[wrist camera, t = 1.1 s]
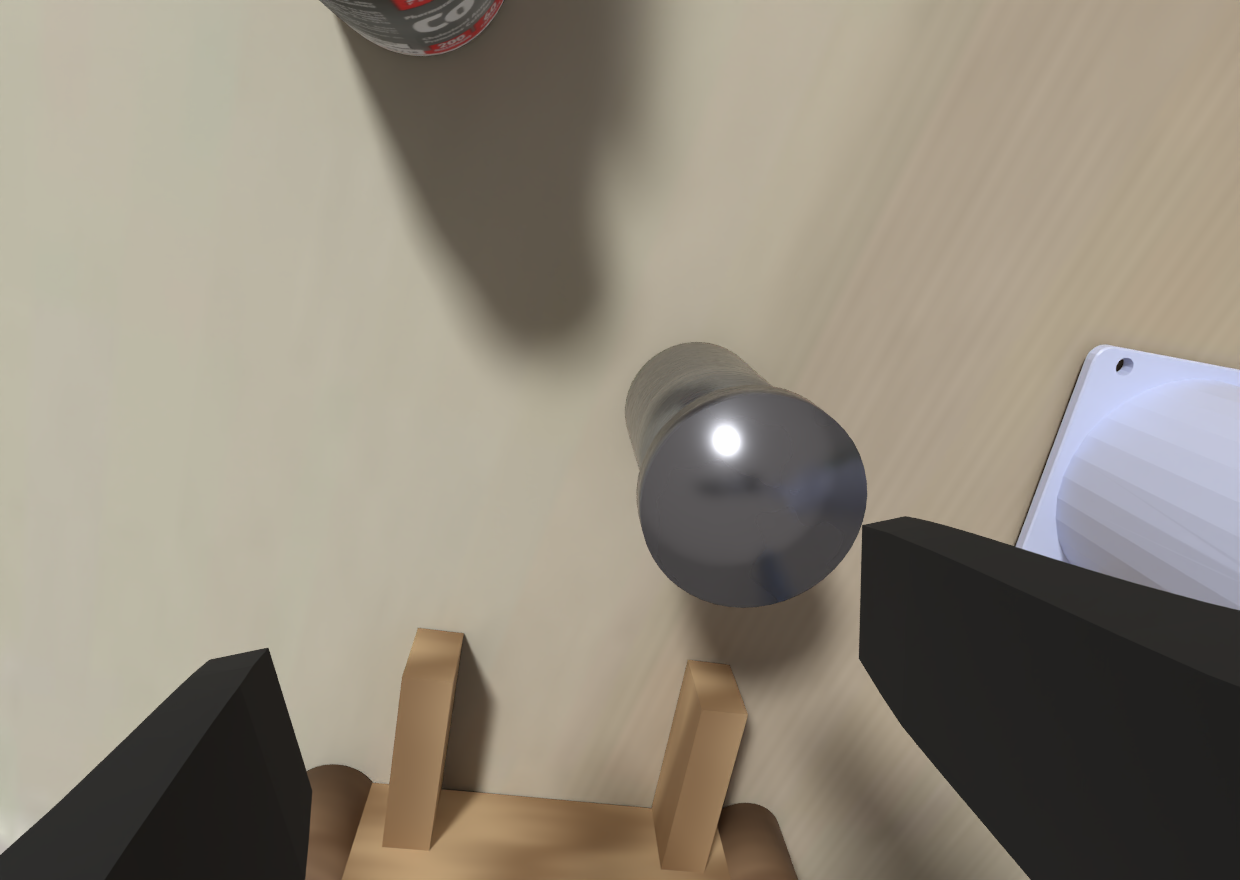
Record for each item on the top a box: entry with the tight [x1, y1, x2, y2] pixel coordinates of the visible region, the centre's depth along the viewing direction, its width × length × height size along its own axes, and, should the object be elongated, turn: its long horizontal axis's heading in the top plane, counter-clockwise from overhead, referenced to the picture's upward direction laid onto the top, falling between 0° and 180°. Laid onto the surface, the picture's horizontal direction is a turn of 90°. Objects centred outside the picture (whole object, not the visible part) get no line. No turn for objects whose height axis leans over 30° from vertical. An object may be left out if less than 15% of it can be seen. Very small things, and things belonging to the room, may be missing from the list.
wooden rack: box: [305, 628, 798, 880], centre depth 22 cm, size 17×8×7 cm, turn 79°
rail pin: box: [625, 342, 867, 608], centre depth 18 cm, size 5×5×7 cm
